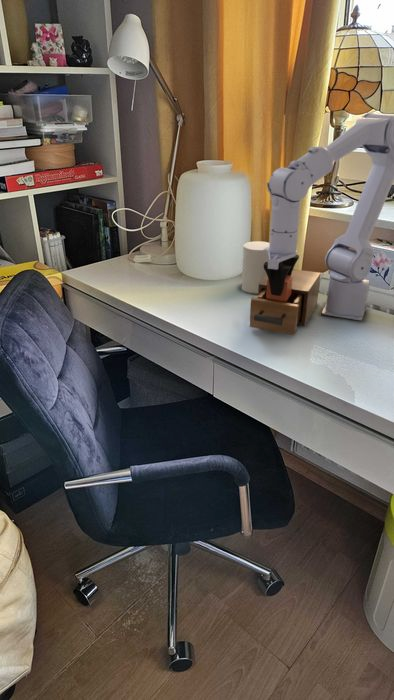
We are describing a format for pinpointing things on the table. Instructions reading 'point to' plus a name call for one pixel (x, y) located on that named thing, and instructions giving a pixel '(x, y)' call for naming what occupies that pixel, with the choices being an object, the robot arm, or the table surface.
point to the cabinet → (302, 290)
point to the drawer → (276, 313)
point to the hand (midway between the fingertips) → (279, 290)
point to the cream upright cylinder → (253, 265)
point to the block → (285, 292)
